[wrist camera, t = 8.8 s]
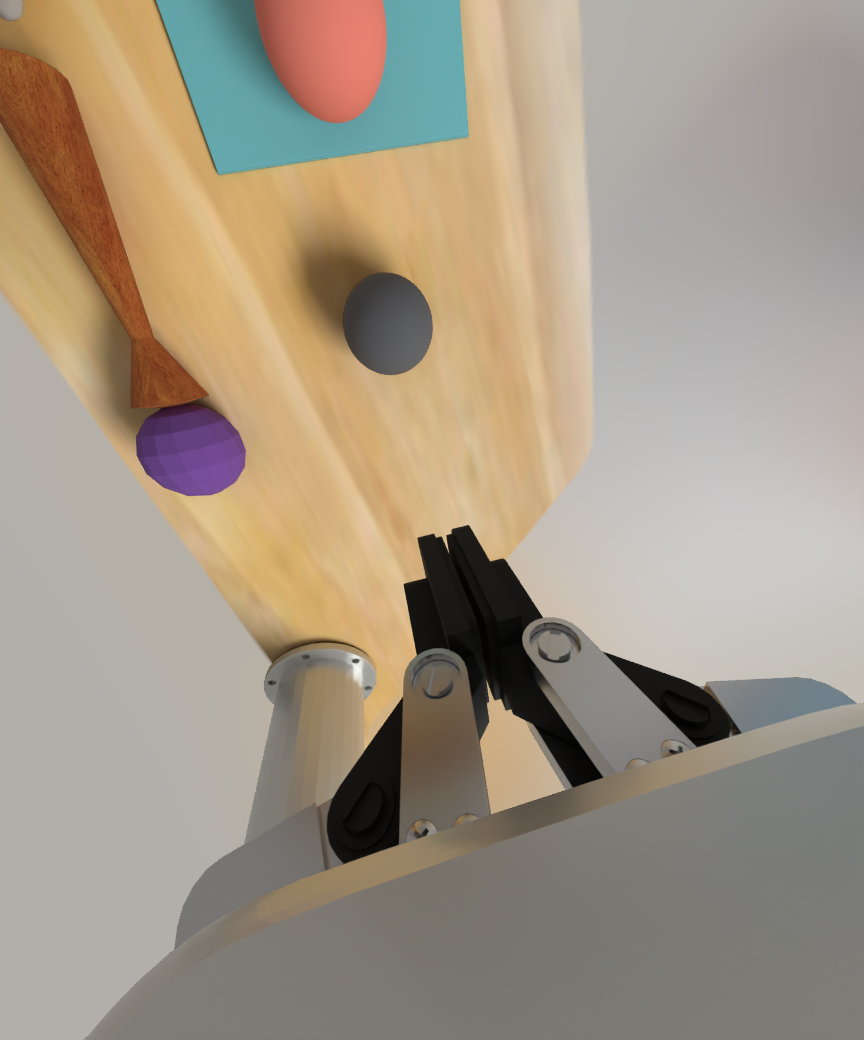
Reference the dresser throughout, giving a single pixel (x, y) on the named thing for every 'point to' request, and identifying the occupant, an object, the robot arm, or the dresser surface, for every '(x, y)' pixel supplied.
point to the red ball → (326, 52)
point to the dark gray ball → (387, 323)
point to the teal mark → (281, 120)
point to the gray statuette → (11, 9)
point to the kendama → (115, 280)
